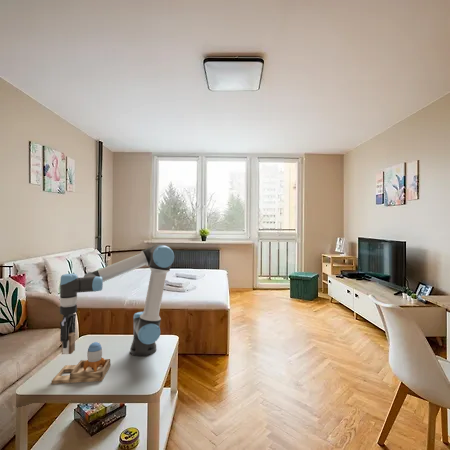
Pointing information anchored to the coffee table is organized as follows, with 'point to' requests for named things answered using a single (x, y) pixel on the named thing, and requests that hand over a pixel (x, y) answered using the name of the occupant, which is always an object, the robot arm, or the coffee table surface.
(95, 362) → the toy rocket
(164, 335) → the coffee table surface
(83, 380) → the tray
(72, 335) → the block
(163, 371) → the coffee table surface
